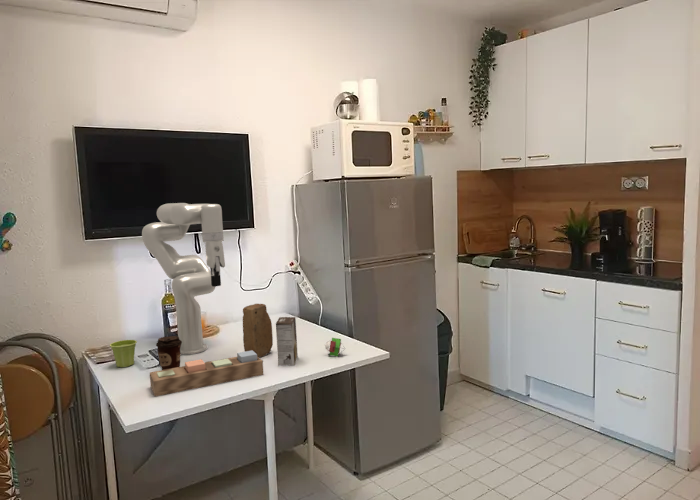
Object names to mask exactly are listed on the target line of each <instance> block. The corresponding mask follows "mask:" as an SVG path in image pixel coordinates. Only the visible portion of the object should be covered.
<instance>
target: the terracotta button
mask: <svg viewBox="0 0 700 500" xmlns="http://www.w3.org/2000/svg"><path fill="white" fill-rule="evenodd" d="M184 366H185V370H186V372H187V373H191V372H197V371H202V370H206V368H205V363H204V360H203V359H195V360H190V361H185V362H184Z"/></svg>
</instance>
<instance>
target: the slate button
mask: <svg viewBox="0 0 700 500" xmlns="http://www.w3.org/2000/svg"><path fill="white" fill-rule="evenodd" d="M236 357H237V360H238V361H239V362H240V363H245V362H250V361H256V360H257V354H256V353H255V352H254V351H253V350H251V351H240V352H236Z"/></svg>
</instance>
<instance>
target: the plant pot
mask: <svg viewBox="0 0 700 500" xmlns="http://www.w3.org/2000/svg"><path fill="white" fill-rule="evenodd" d="M136 346H137V340H135V339H124V340H123V339H122V340H117V341H114V342H112V343H110V344H109V347H110V348H111V350H112V353H113V356H114V361H115V365H116V367H117V368H119V367H120V368H127V367H130V366H133V365H134V364H135V353H136V352H135V351H136Z"/></svg>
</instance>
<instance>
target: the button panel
mask: <svg viewBox="0 0 700 500" xmlns="http://www.w3.org/2000/svg"><path fill="white" fill-rule="evenodd" d="M223 359H224V358H223ZM223 359H220V360H223ZM226 359H229V360H230V361H231V362H232V365H229V366H224V367H218V368H214V367H213V365H212V361H213V360H211V361H206V362H204V361H203V362H204V363H205V368H206V370H202V371H197V372H191V373H187V372H186V370H185V365H183V366H182V365H181V366H180V367H177V368H171V369H166V370H162V369H161V370H155V371H150V372H149V381H150V388H151V391H152V393H153V396H154V397H159V396H164V395H169V394H175V393H180V392H184V391H190V390H194V389H199V388H203V387H204V388H205V387H209V386H214V385H219V384H223V383H224V384H225V383H230V382H234V381H239V380H244V379H250V378H254V377H259V376H264V363H263V362H264V361H263V360H262V359H261V357H258V356H257V360H256V361H250V362H245V363H240V362H239V361H238V360H237V356H232V357H228V358H226ZM217 360H218V359H217ZM217 360H214V361H217Z"/></svg>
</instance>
